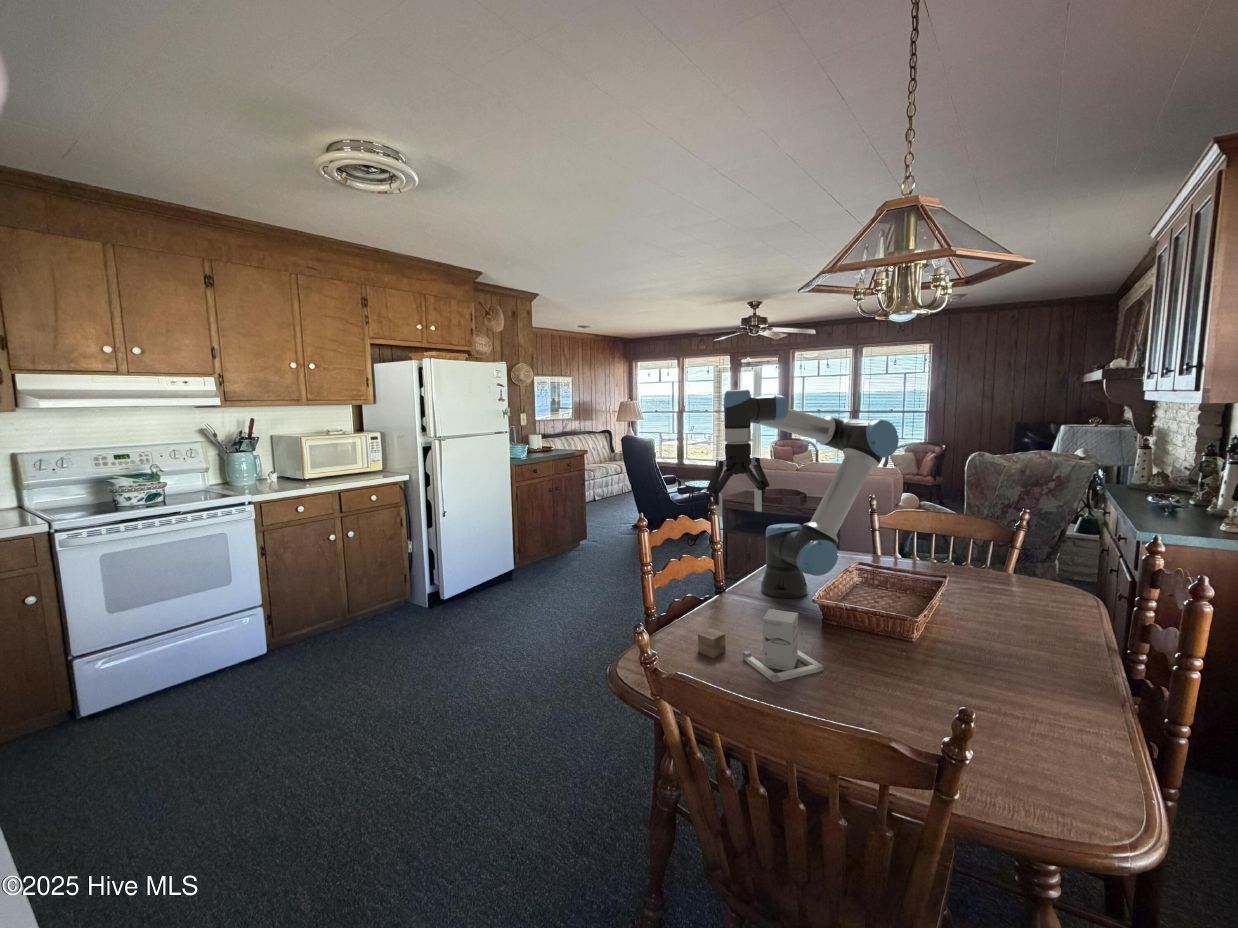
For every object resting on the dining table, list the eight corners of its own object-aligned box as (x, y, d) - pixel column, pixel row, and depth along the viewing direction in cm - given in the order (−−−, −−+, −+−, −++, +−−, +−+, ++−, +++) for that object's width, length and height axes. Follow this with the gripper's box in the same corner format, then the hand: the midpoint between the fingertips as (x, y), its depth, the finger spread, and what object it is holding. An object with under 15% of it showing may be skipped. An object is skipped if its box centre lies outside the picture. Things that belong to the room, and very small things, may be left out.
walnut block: (710, 646, 148) (710, 628, 148) (725, 651, 145) (725, 633, 144) (698, 651, 145) (697, 633, 145) (713, 658, 141) (712, 639, 141)
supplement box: (762, 667, 135) (761, 618, 134) (768, 654, 142) (768, 607, 140) (793, 673, 132) (792, 622, 130) (798, 660, 138) (798, 611, 137)
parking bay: (788, 648, 145) (788, 641, 144) (823, 670, 133) (823, 662, 132) (742, 659, 140) (742, 651, 140) (774, 682, 128) (773, 674, 128)
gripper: (765, 439, 170) (766, 507, 173) (694, 444, 162) (695, 515, 164) (780, 440, 163) (781, 511, 166) (706, 446, 155) (708, 520, 157)
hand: (738, 513), depth 165 cm, fingers open, 13 cm apart
